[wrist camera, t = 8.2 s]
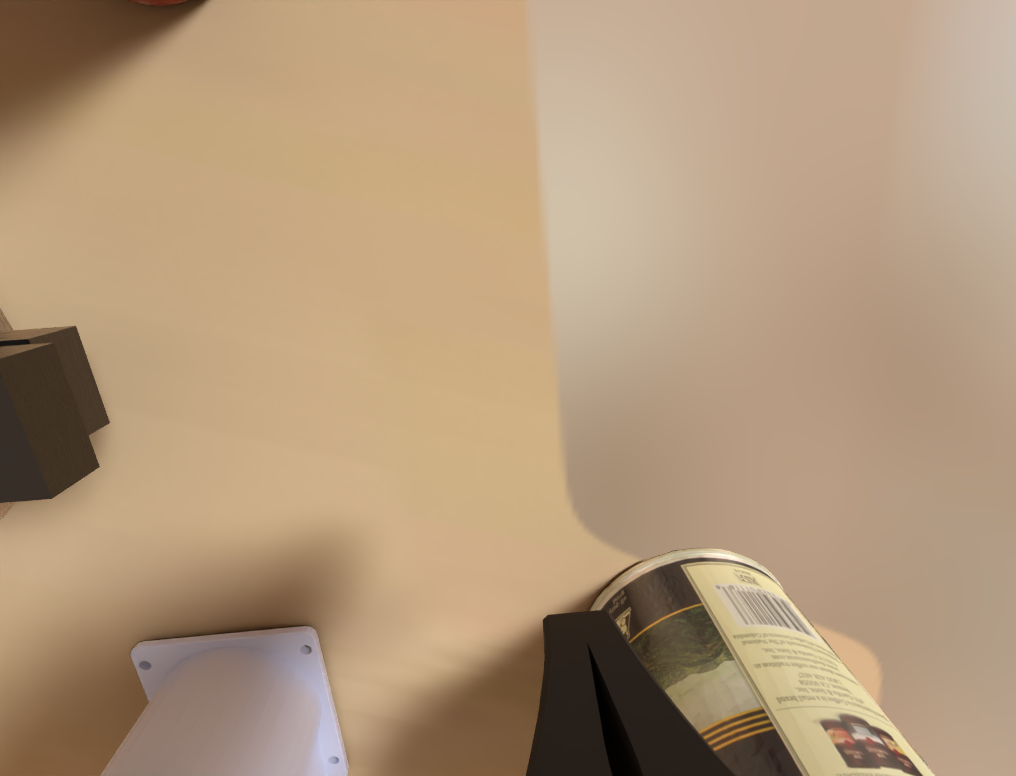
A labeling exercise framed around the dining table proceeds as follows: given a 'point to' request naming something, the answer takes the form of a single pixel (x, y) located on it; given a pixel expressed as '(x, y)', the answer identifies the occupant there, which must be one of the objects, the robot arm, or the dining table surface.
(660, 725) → the robot arm
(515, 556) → the dining table surface
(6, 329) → the cooker pot
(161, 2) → the supplement bottle
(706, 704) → the coffee can
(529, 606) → the dining table surface
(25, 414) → the cooker lid
